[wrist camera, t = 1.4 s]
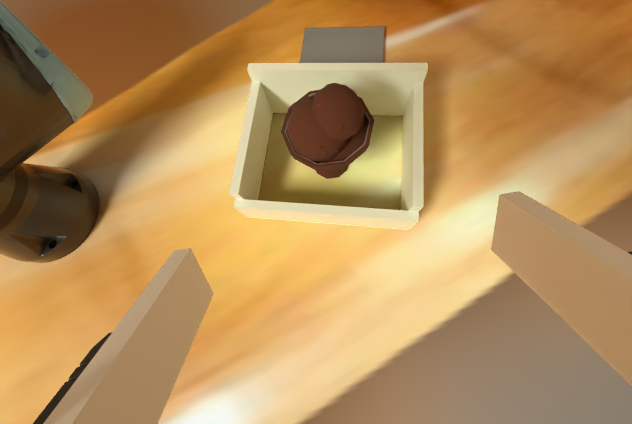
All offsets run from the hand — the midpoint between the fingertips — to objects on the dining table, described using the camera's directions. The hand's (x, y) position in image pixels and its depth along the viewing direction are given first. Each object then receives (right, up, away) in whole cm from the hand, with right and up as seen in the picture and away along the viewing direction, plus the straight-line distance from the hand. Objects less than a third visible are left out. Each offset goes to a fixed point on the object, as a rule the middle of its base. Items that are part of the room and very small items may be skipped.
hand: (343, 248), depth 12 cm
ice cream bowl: (+1, +9, +29) cm, 31 cm away
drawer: (+1, +9, +29) cm, 30 cm away
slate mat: (+3, +27, +34) cm, 44 cm away
